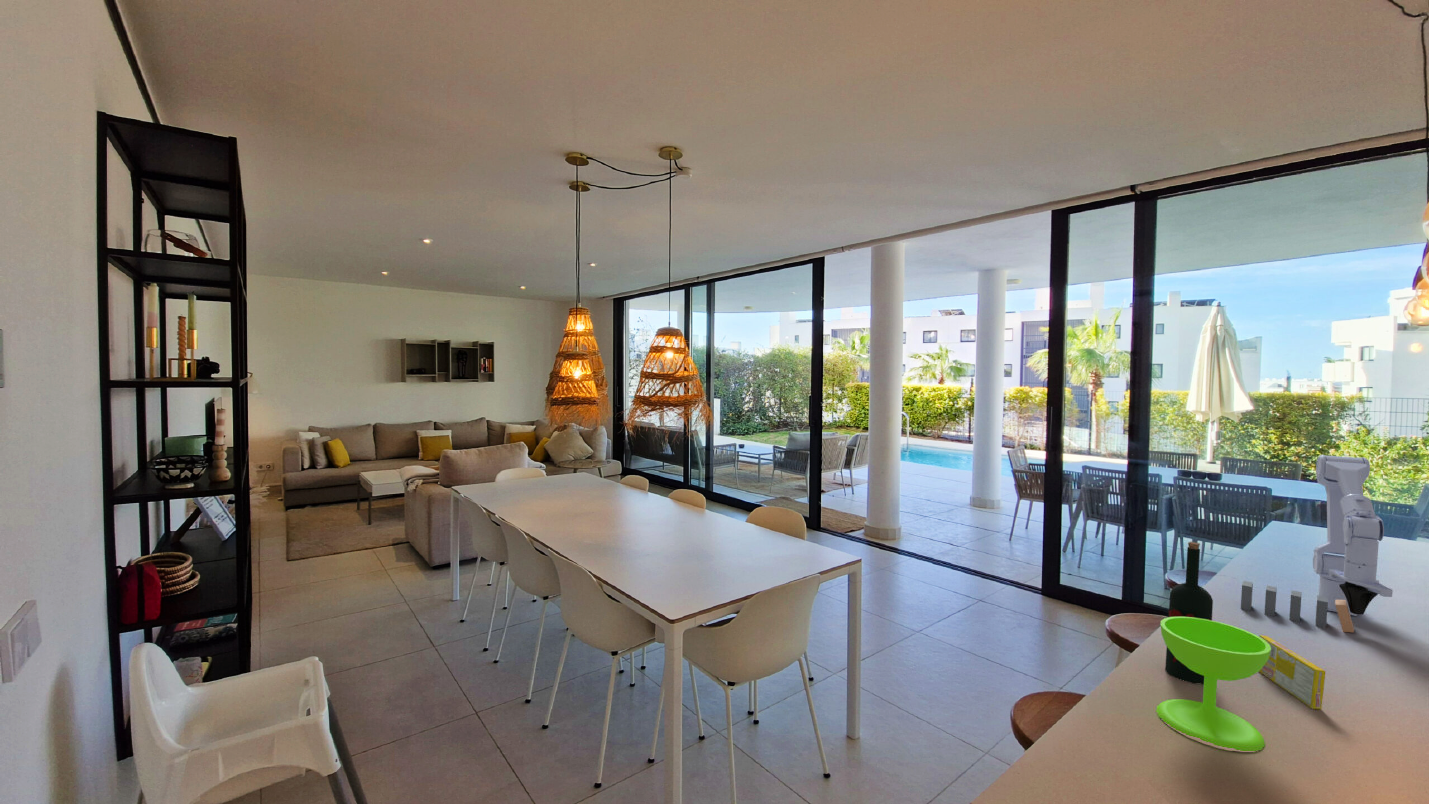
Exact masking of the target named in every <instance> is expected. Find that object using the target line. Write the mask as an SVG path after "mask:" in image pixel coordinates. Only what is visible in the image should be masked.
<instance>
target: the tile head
mask: <svg viewBox="0 0 1429 804" xmlns="http://www.w3.org/2000/svg"><path fill="white" fill-rule="evenodd" d="M1335 605H1336V609H1337V612H1336V613H1337V615H1338V619H1339V622H1340V626H1341V630H1342V633H1355V629H1354V628H1355V627H1354V624H1353V620H1352V617H1351V616H1352V615H1350V612H1349V609H1348V605H1347V602H1346V600H1335Z"/></svg>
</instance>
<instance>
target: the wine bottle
mask: <svg viewBox="0 0 1429 804" xmlns="http://www.w3.org/2000/svg"><path fill="white" fill-rule="evenodd" d="M1187 543H1188V546H1187V547H1186V548H1187V549H1186V550H1187V551H1186V570H1185V582H1183V583H1178V584H1176V585H1175V586H1173V587H1172V588H1171V589H1170V592H1169V601H1168V603H1169V606H1168V617H1180V616H1181V617H1194V618H1201V619H1207V620H1212V621H1213V608H1214V606H1213V605H1214V599H1213V597H1212V595H1211V594H1210V592H1209V591H1207V590H1206V589H1205V588H1203V586H1200V585H1199V577H1200V575H1199V572H1200V556H1201V549H1200V545H1201V544H1200V542H1195V541H1189V542H1187ZM1165 650H1166V653H1165V655H1166V656H1165V669H1164V671H1165V672H1166V673H1167V675H1169V676H1171V677H1173V678H1176V679H1177V678H1178V680H1180V679H1181V680H1180V681H1183V680H1184V681H1183V682H1186V681H1187V683H1190V682H1191V684H1196V683H1201V684H1200V685H1204V676H1203V675H1201V674H1198V673H1196V672H1194V671H1192V670H1190V669H1189V668H1188V667H1186V666H1185V665H1184V664H1182V663H1181V662H1180V661H1179V660H1177V659H1176V658H1175V656H1174V655H1173V654H1172V652H1171V651H1170V650H1169V649H1168V647H1167V646H1166V649H1165Z"/></svg>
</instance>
